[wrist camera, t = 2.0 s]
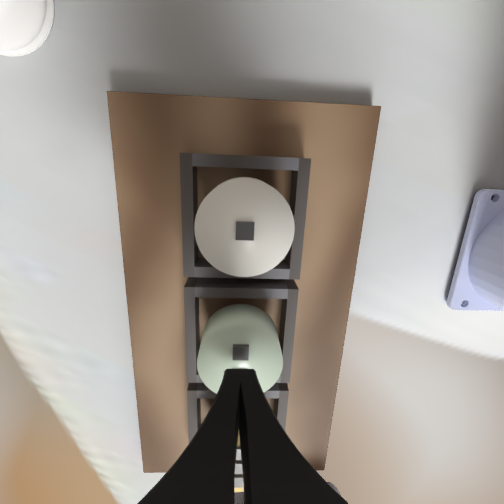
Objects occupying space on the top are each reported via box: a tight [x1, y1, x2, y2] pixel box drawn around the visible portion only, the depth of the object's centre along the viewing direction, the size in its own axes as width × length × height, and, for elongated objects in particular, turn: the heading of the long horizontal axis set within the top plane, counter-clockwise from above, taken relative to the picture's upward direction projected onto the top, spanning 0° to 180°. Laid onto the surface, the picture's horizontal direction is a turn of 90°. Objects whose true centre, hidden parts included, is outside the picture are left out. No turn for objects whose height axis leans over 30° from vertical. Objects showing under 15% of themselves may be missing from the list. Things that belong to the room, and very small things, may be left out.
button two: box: [197, 304, 283, 394], centre depth 15 cm, size 4×4×3 cm
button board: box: [107, 91, 381, 473], centre depth 18 cm, size 14×26×3 cm, turn 178°
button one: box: [194, 177, 295, 277], centre depth 13 cm, size 4×4×3 cm
